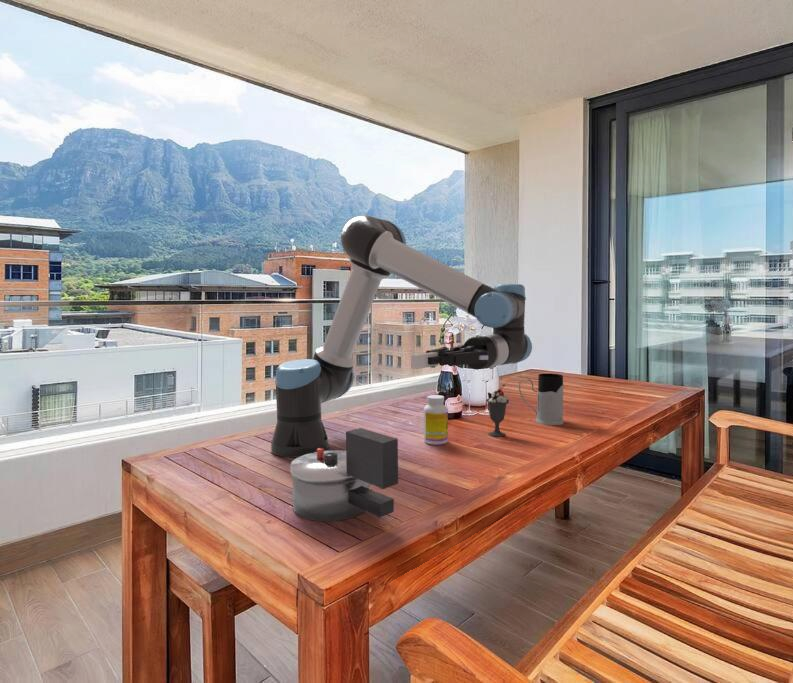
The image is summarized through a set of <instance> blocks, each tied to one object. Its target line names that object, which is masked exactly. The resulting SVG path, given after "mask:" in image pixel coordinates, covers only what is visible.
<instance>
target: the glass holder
mask: <svg viewBox="0 0 793 683" xmlns="http://www.w3.org/2000/svg"><path fill="white" fill-rule="evenodd" d="M537 379H538V382H537V383H538V384H537V385H538V386H537V387H538V389H537V390H536V389H535V390H534V382H533V380H531V379H530V378H527V377H524V378H521V379H520V381H519V384H518V390H519V391H518V392H519V394H520V397H521V399H522V401H523V402H524V403H525V404H526V405H527V406H528V407H530V408H531V409H532V411H534V412H535V415H536V419H535V423H537V424H540V425H545V426H546V425H547V426H561V425H563V424H564V423H565V421H564V418H563V415H564V375H563V374H559V373H539V374H538V378H537ZM523 380H528V381H529V382H530V383H531V390H532V392H535V393H537V397H536V398H537V407H536V408H537V409H535V408H534V407H533V406H532V405H531V404H529V403H528V401H526V399H525V397H523V394H522V391H521V382H522V381H523Z"/></svg>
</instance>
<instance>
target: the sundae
mask: <svg viewBox="0 0 793 683" xmlns="http://www.w3.org/2000/svg"><path fill="white" fill-rule="evenodd" d="M504 387H506V385H505V384H503V385H502V386H501V387H499V388H498V389H497V390H495V391H493V392H492V393H491V392H487V397H488V398H486V400H485V401H486V402H487V405H488V406H487V407H488V412H489V413H488V415H489V419H490V420H491V421H492V422H493V423H494V430H493V431H490V432H488V435H489V436H490V437H493V438H494V437H495V438H501V437H502V438H503V437H505V436H506V433H505V432H502V431H501V430H500V423H502V422H503V420H504V419H505V416H506V409H507V404H509V402H510V400H509V399H508V398H507V397H506V396H505V392H503V389H504Z"/></svg>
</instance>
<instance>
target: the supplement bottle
mask: <svg viewBox="0 0 793 683" xmlns="http://www.w3.org/2000/svg"><path fill="white" fill-rule="evenodd" d="M426 400H427V404H426V405H425V406H424V407H423V441H424V442H425V444H428V445H434V446H436V445H437V446H439V445H440V446H441V445H444V444H446V443H447V442H448V440H449V438H448V437H449V434H448V433H449V430H448V428H449V426H448V425H449V423H448V422H449V418H448V416H449V412H448V407H447V405H445V404H444V403H445V396H444V395H439V394H432V395H427V399H426Z"/></svg>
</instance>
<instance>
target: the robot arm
mask: <svg viewBox="0 0 793 683" xmlns="http://www.w3.org/2000/svg"><path fill="white" fill-rule="evenodd" d="M340 243H341V247H342V249H343V251H344V253H345V254H346V255H347V256H348V258H349V260H348V262H349V263H350V266H351V270H350V273H349V276H348V279H347V281H346V284H345V286H344V290H343V292H342V295H341V298H340V300H339V304H338V306H337V308H336V311H335V312H334V313H335V314H334V316H333V319H332V322H331V325H330V326H329V330H328V333H327V335H326V338H325V340H324V343H323V345H322V346H319V347H318V348H316V349H315V352H314V354H313V357H312V359H311V358H303V359H300V358H299V359H296V360H288V361H286V362H283V363H281V364H279V366H278V367H277V368H276V370H275V380H274V384H275V395H276V399H275V400H276V426H275V428H274V431H273V434H272V439H271V443H270V448H271V449H270V450H271V453H272V452H273V454H274V455H276V456H279V457H284V458H287V457H288V458H298V457H300V456H303V455H306V454H310V453H314V452H317V448H324V451H328V449H329V445H330V444H329V436H328V435H327V430H326V428H325V426H324V423H323V421H322V404H323V403H327V402H330V401H333V400H336V399H339V398H341V397H343V395H346V393H347V392H349V391H350V389H351V388H352V386H353V384H354V380H355V374H354V372H353V368H354V366H355V361H354V360H353V357H352V356H353V353H354V350H355V349H356V347H357V344H358V341H359V338H360V336H361V333H362V331H363V328H364V326H365V323H366V320H367V318H368V314H369V313H370V310H371V308H372V306H373V305H372V304H373V302H374V299H375V297H376V294H377V293H378V289H379V287H380V285H381V281H382V280H384V279H386V278H389V277H390V274H392V275H394V276H396V277H398V278H399V279H402V280H403V281H405V282H407V283H409V284H411V285H413V286H415V287H417V288H419V289H421V290H422V291H424V292H426V293H428V294H430V295H432V296H433V297H436V298H439V299H440V300H441V301H444V302H446V303H447V304H449V305H451V306H454V307H455V308H456V309H459V310H461V311H463V312H465V313H466V314H469V315H470V316H472V317H473V318H475V319H476V320H477V321H478V323H480V324H481V325H482V326H485V327H487V328H492V334H486V335H478V336H471V337H469V338H468V339H467V340H466V341H465V342H464V344H459V345H457V346H451V347H447V346H442V347H439V348H434V349H429V350H426V351H425V353H424V352H423V353H416V354H411V355H410V369H412V370H414V369H415V370H419V369H426V368H436V367H437V366H443V367H444V366H449V367H455V366H456V367H457V366H467V367H469V368H470V369H472V370H477V371H478V370H483V369H488V368H489V369H490V370H493V369H494V367H498V366H504V365H511V364H512V365H514V364H517V363H520V362H523V361H525V360H527V359H528V358H529V357H530V356H531V353H532V350H533V343H532V341H531V339H530V337H529V335H527V334H526V333H525V318H526V317H525V315H526V312H525V311H526V310H525V309H526V300H527V299H526V298H527V297H526V288H525V286H524V284H519V283H516V284H515V283H514V284H511V283H510V284H509V283H506V284H504V283H499V284H496V285H494V287H491V286H489V285H487V284H485V283H483V282H481V281H479V280H477V279H475V278H473V277H471V276H469V275H467V274H465V273H463V272H461V271H459V270H457V269H455V268H453V267H451V266H449V265H447V264H446V263H445V264H444V263H443V262H441V261H439V260H437V259H435V258H434V257H431V256H429V255H428V254H425V253H423V252H420V251H419V250H417V249H416V248H413V247H411V246H409V245H407V241H406V237H405V234H404V232H403V230H402V228H400V226H398V225H397V224H395V223H394V222H392V221H389V220H386V219H382V218H377V217H374V216H372V215H367V214H366V215H365V214H362V215H356V216H355V217H352V218H351V219H349V220H348V221H347V222H346V223H345V224H344V227H342V230H341V233H340Z"/></svg>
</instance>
